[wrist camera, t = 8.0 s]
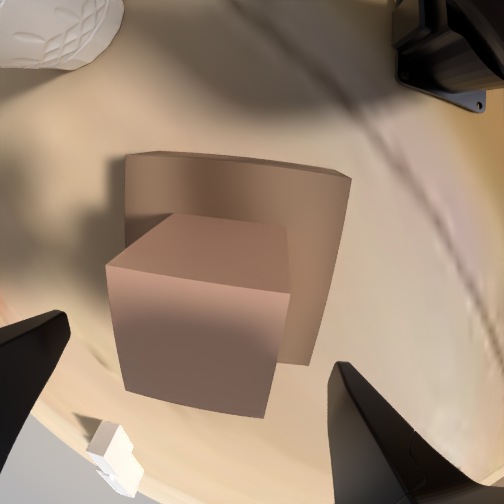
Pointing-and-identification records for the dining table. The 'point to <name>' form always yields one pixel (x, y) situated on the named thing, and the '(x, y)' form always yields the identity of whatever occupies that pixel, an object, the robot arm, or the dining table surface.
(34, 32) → the white cup
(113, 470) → the napkin holder
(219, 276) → the terracotta block
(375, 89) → the dining table surface
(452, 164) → the dining table surface
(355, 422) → the robot arm
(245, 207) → the block
